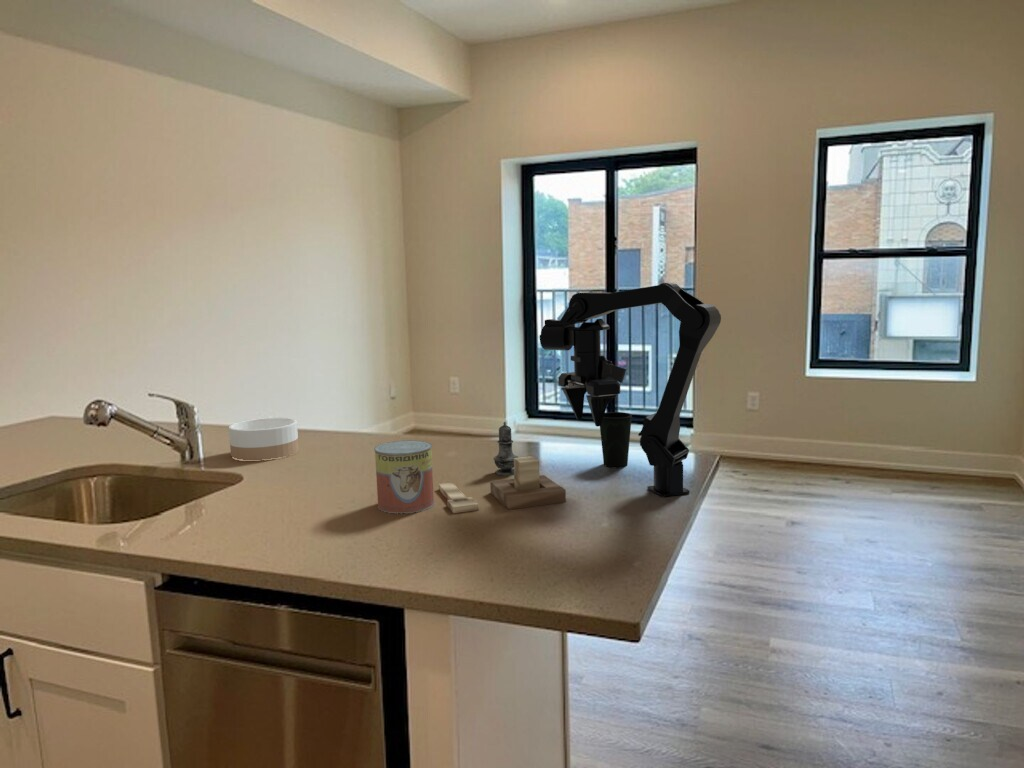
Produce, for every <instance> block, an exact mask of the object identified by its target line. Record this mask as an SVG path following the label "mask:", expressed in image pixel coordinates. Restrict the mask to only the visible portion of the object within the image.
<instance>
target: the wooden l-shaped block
mask: <svg viewBox="0 0 1024 768" xmlns="http://www.w3.org/2000/svg"><path fill="white" fill-rule="evenodd" d="M438 491H440V493H441V494H442V495H443V496H444V497H445V499H446V500H447V501H446V503H447V504H446V505H447V507H448V509H449V510H450V511H451V512H452V514H457V513H465V512H467V513H468V512H473V511H479V503H478V502H477V501H476V500H475V499H474V498H473V497H472V496H469V497H467V496H466V495H465V494H464V493H463V492H462V491H461V490H460V489H459V488H458V487H457V486H456V484H454V483H453V482H444V483H443V482H442V483H438Z"/></svg>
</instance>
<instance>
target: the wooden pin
mask: <svg viewBox="0 0 1024 768" xmlns="http://www.w3.org/2000/svg"><path fill="white" fill-rule="evenodd" d="M513 469H514V475H513V479H514V484H515V489H516V490H517V491H522V490H530V489H538V488H540V482H539V476H540V460H539V459H538V458H536V457H534V456H531V455H530V456H529V455H528V456H522V457H519V458H514V468H513Z"/></svg>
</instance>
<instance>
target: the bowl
mask: <svg viewBox="0 0 1024 768" xmlns="http://www.w3.org/2000/svg"><path fill="white" fill-rule="evenodd" d="M228 436H229V437H228V439H229V445H230V446H229V447H230V457H231V456H232V457H234V458H237V459H243V460H262V459H271V458H278V457H283V456H287V455H290V454H294V453H295V452H297V451H298V450H300V449H299V433H298V421H297V420H296V419H294V418H288V417H265V418H264V417H263V418H254V419H247V420H246V419H245V420H242V421H238V422H235V423H232V424H230V425H229V426H228ZM298 452H299V451H298Z"/></svg>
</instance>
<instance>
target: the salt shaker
mask: <svg viewBox="0 0 1024 768" xmlns="http://www.w3.org/2000/svg"><path fill="white" fill-rule="evenodd" d="M513 442H514V440H512V428H511V427H510V426H509V425H507V423H506V421H504V422H503V424H502V426H500V427H499V428H498V441H497V443H498V453H497V455H495V456H494V457H493V458H492V459H493V461H494V464H495V466H496V468H498V469H497V470H496V471H495V472H494V474H495V475H496V474H497V476H500V475H501V476H502V477H508V476H507V475H510V476H514V458H520V457H519V455H516V454H514V452H513ZM501 476H500V477H501Z"/></svg>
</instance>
